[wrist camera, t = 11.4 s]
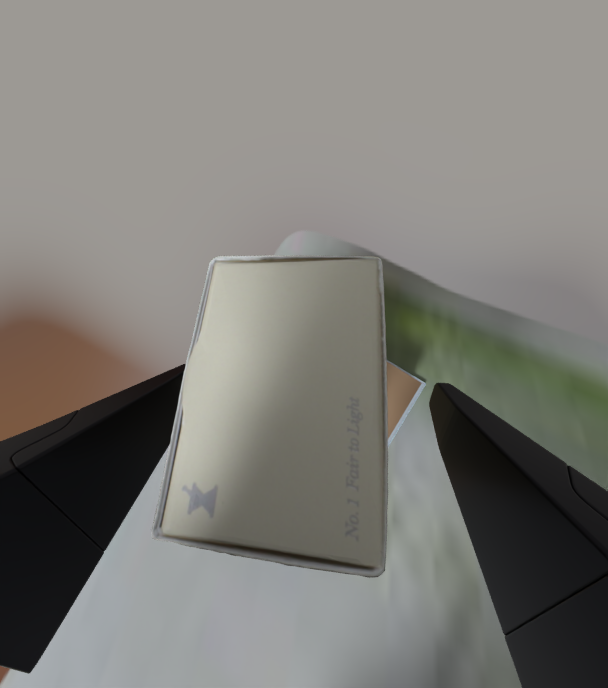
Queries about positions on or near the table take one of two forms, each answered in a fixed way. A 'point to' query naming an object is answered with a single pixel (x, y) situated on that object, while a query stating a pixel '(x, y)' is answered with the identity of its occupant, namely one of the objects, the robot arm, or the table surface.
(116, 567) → the table surface
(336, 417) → the skincare box
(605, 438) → the table surface
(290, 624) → the table surface
